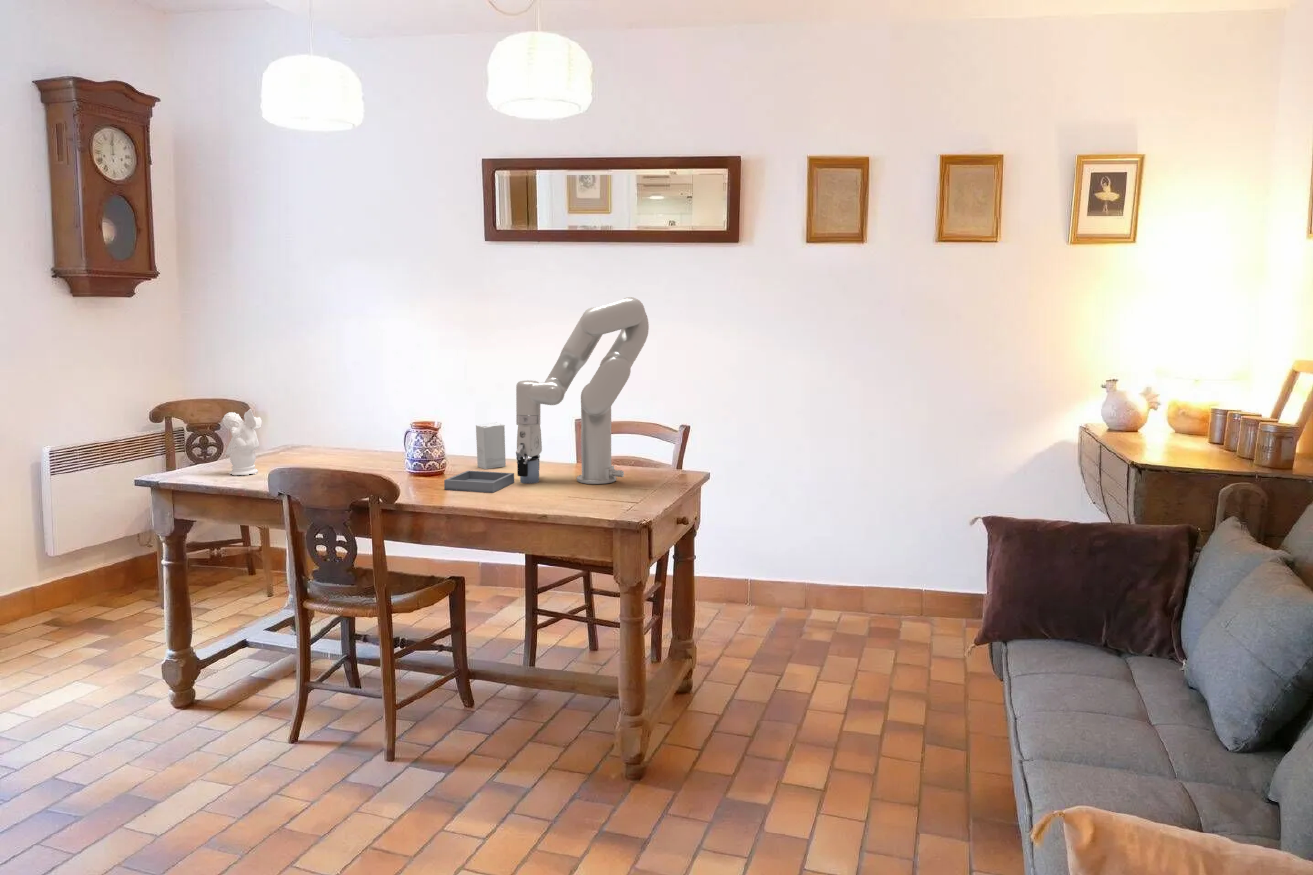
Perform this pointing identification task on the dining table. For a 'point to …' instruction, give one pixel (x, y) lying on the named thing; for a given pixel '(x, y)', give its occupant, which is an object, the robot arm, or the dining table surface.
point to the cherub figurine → (242, 442)
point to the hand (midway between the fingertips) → (528, 473)
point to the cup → (531, 471)
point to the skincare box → (490, 445)
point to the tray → (479, 481)
